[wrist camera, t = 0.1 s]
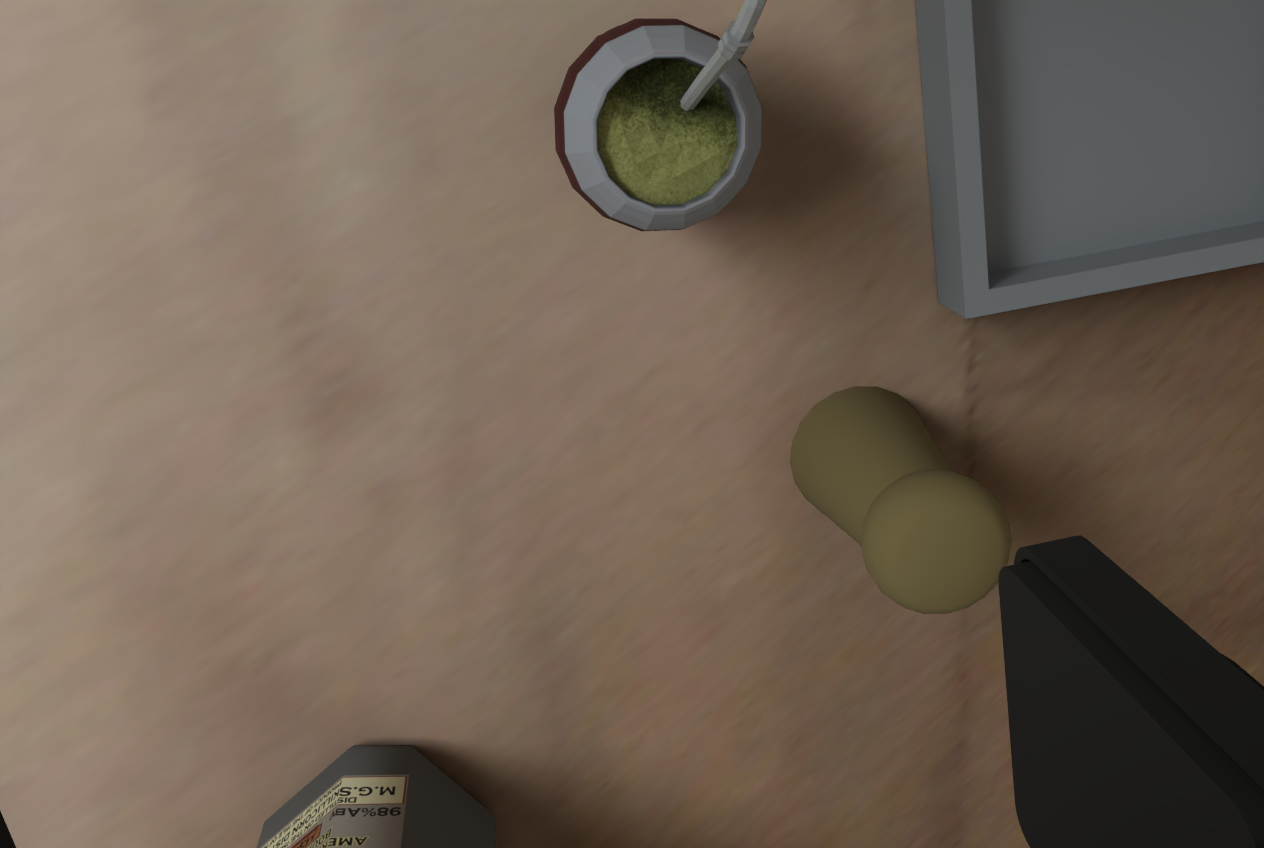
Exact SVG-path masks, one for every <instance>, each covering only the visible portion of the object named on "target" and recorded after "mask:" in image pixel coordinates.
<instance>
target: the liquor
mask: <svg viewBox="0 0 1264 848" xmlns="http://www.w3.org/2000/svg"><path fill="white" fill-rule="evenodd" d="M257 848H495V817H494V816H493V815H492V814H491V813H490V812H489V811H488V810H487V809H486V808H485V807H484V806H483V805H482V804H480V803H479V802H478V801H477V800H476V799H475V798H473V797H472V796H471V795H470V794H469V793H467V792H466V791H465V790H464V789H463V788H461V787H460V786H459V785H458V784H457V783H455V782H454V781H453V780H452V779H451V778H449V777H448V776H447V775H446V774H445V773H443V772H442V771H441V770H440V769H439V768H437V767H436V766H435V765H434V764H433V763H432V762H430V761H429V760H428V759H427V758H426V757H424V756H423V755H422V754H421V753H420V752H418V751H417V750H416V749H415V748H414V747H412V746H411V745H370V746H353V747H351V748H349V749H348V750H347V751H346V752H345V753H344V754H342V755H341V756H340V757H339V758H338V759H337V760H335V761H334V762H333V763H332V764H331V765H330V766H328V767H327V768H326V769H325V770H324V771H323V772H322V773H320V774H319V775H318V776H317V777H316V778H315V779H313V780H312V781H311V782H310V783H309V784H308V785H307V786H305V787H304V788H303V789H302V790H301V791H300V792H298V793H297V794H296V795H295V796H294V797H293V798H292V799H290V800H289V801H288V802H287V803H286V804H285V805H283V806H282V807H281V808H280V809H279V810H278V811H277V812H275V813H274V814H273V815H272V816H271V817H270V818H268V819H267V820H266V821H265V822H264V825H263V829H262V832H261V836H260V839H259V843H258V846H257Z"/></svg>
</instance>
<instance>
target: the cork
mask: <svg viewBox="0 0 1264 848" xmlns="http://www.w3.org/2000/svg"><path fill="white" fill-rule="evenodd" d="M790 464H791V468H792V472H793V476H794V480H795V483H796V485H797V486H798V488H799V489H800V491H801V492H802V494H803V495H804V497H805V498H806V499H807V500H808V501H809V502H810V503H811V504H813V505H814V506H815V507H816V508H817V509H818V510H820V511H821V512H822V513H823V514H824V515H826V516H827V517H828V518H829V519H830V520H831V521H833V522H834V523H835V524H836V525H837V526H839V527H840V528H841V529H842V530H843V531H845V532H846V533H847V534H848V535H849V536H850V537H852V538H853V539H854V540H855V541H856V542H858V543H859V544H860V545H861V547H862V552H863V557H864V561H865V565H866V569H867V570H868V572H869V573H870V575H871V577H872V578H873V580H874V581H875V583H876V584H877V586H878V587H879V589H880V590H881V592H882V593H884V594H885V595H886V596H888V597H889V598H891V599H892V600H893V601H895V602H896V603H897V604H899V605H901V606H902V607H904V608H906V609H910V610H913V611H916V612H920V613H923V614H946V613H951V612H954V611H958V610H961V609H964V608H968V607H970V606H971V605H973V604H974V603H976V602H977V601H979V600H981V599H982V598H984V597H985V596H986V595H987V594H988V593H989V592H990V591H991V590H992V589H993V587H994V586H995V585H996V584H997V583H998V582H999V573H1000V570H1001V569H1002V567H1006V566H1007V563H1008V560H1009V553H1010V547H1011V535H1010V530H1009V524H1008V520H1007V518H1006V515H1005V513H1004V511H1003V510H1002V508H1001V506H1000V505H999V503H998V501H997V500H996V498H995V496H994V495H992V494H991V493H990V492H989V491H988V490H987V489H985V488H984V487H983V486H982V485H980V484H979V483H978V482H976V481H975V480H974V479H973V478H970V477H967V476H964V475H961V474H958V473H955V472H952V470H951V468H950V467H949V465H948V464H947V462H946V460H945V459H944V457H943V455H942V454H941V452H940V450H939V449H938V447H937V446H936V444H935V442H934V441H933V439H932V437H931V436H930V434H929V432H928V431H927V429H926V428H925V426H924V424H923V423H922V421H921V419H920V418H919V416H918V415H917V413H916V411H915V410H914V408H913V406H912V405H910V404H909V403H908V402H907V401H905V400H904V399H903V398H901V397H900V396H899V395H898V394H896V393H893V392H890V391H888V390H885V389H882V388H879V387H852V388H849V389H846V390H843V391H839V392H836V393H833V394H832V395H830V396H829V397H827V398H826V399H824V400H823V401H821V402H820V403H818V404H817V405H815V406H814V407H813V409H812V410H811V411H810V412H809V413H808V415H807V416H806V417H805V418H804V419H803V420H802V422H801V423H800V425H799V428H798V430H797V432H796V435H795V437H794V439H793V442H792V450H791V461H790Z"/></svg>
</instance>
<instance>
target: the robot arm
mask: <svg viewBox="0 0 1264 848" xmlns="http://www.w3.org/2000/svg"><path fill="white" fill-rule="evenodd" d="M999 595H1000V608H1001V622H1002V635H1003V648H1004V662H1005V675H1006V688H1007V701H1008V715H1009V728H1010V741H1011V755H1012V768H1013V781H1014V795H1015V805H1016V811H1017V816H1018V820H1019V823H1020V826H1021V829H1022V832H1023V834H1024V836H1025V839H1026V841H1027V842H1028V844H1029V846H1030V848H1264V687H1263V686H1262V685H1261V684H1260V683H1259V682H1258V681H1256V680H1255V679H1254V678H1253V677H1252V676H1250V675H1249V674H1248V673H1247V672H1246V671H1245V670H1243V669H1242V668H1241V667H1240V666H1239V665H1238V664H1236V663H1235V662H1234V661H1232V660H1231V659H1229V658H1227V657H1226V656H1224V655H1223V654H1221V653H1219V652H1218V651H1217V650H1216V649H1215V648H1213V647H1212V646H1211V645H1210V644H1209V643H1208V642H1206V641H1205V640H1204V639H1203V638H1202V637H1201V636H1199V635H1198V634H1197V633H1196V632H1195V631H1194V630H1192V629H1191V628H1190V627H1189V626H1188V625H1187V624H1185V623H1184V622H1183V621H1182V620H1181V619H1180V618H1178V617H1177V616H1176V615H1175V614H1174V613H1173V612H1171V611H1170V610H1169V609H1168V608H1167V607H1166V606H1164V605H1163V604H1162V603H1161V602H1160V601H1159V600H1157V599H1156V598H1155V597H1154V596H1153V595H1151V594H1150V593H1149V592H1148V591H1147V590H1146V589H1144V588H1143V587H1142V586H1141V585H1140V584H1139V583H1137V582H1136V581H1135V580H1134V579H1133V578H1132V577H1130V576H1129V575H1128V574H1127V573H1126V572H1125V571H1123V570H1122V569H1121V568H1120V567H1119V566H1118V565H1116V564H1115V563H1114V562H1113V561H1112V560H1111V559H1109V558H1108V557H1107V556H1106V555H1105V554H1104V553H1102V552H1101V551H1100V550H1099V549H1098V548H1097V547H1095V546H1094V545H1093V544H1092V543H1091V542H1090V541H1088V540H1087V539H1085V538H1084V537H1082V536H1073V537H1069V538H1064V539H1059V540H1054V541H1050V542H1045V543H1040V544H1035V545H1031V546H1026V547H1021V548H1019V550H1018V551H1017V552H1016V556H1015V560H1014V565H1011V566H1006V567H1002V569H1001V570H1000V573H999ZM0 848H16V846H15V844H14V842H13V839H12V837H11V835H10V832H9V830H8V828H7V825H6V823H5V821H4V818H3V816H2V814H1V811H0Z"/></svg>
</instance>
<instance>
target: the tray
mask: <svg viewBox="0 0 1264 848" xmlns="http://www.w3.org/2000/svg"><path fill="white" fill-rule="evenodd" d="M915 5H916V18H917V31H918V44H919V57H920V70H921V83H922V96H923V109H924V122H925V135H926V148H927V161H928V175H929V188H930V201H931V214H932V227H933V240H934V253H935V266H936V279H937V292H938V302H939V303H941V304H942V305H944V306H945V307H947V308H949V309H950V310H952V311H954V312H955V313H957V314H958V315H960V316H962V317H963V318H965V319H969V318H974V317H979V316H984V315H989V314H995V313H1000V312H1005V311H1010V310H1016V309H1021V308H1026V307H1031V306H1036V305H1042V304H1047V303H1052V302H1057V301H1063V300H1068V299H1073V298H1078V297H1083V296H1089V295H1094V294H1099V293H1104V292H1110V291H1115V290H1120V289H1125V288H1130V287H1136V286H1141V285H1146V284H1151V283H1157V282H1162V281H1167V280H1172V279H1178V278H1183V277H1188V276H1193V275H1198V274H1204V273H1209V272H1214V271H1219V270H1225V269H1230V268H1235V267H1240V266H1245V265H1251V264H1256V263H1261V262H1264V0H915Z"/></svg>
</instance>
